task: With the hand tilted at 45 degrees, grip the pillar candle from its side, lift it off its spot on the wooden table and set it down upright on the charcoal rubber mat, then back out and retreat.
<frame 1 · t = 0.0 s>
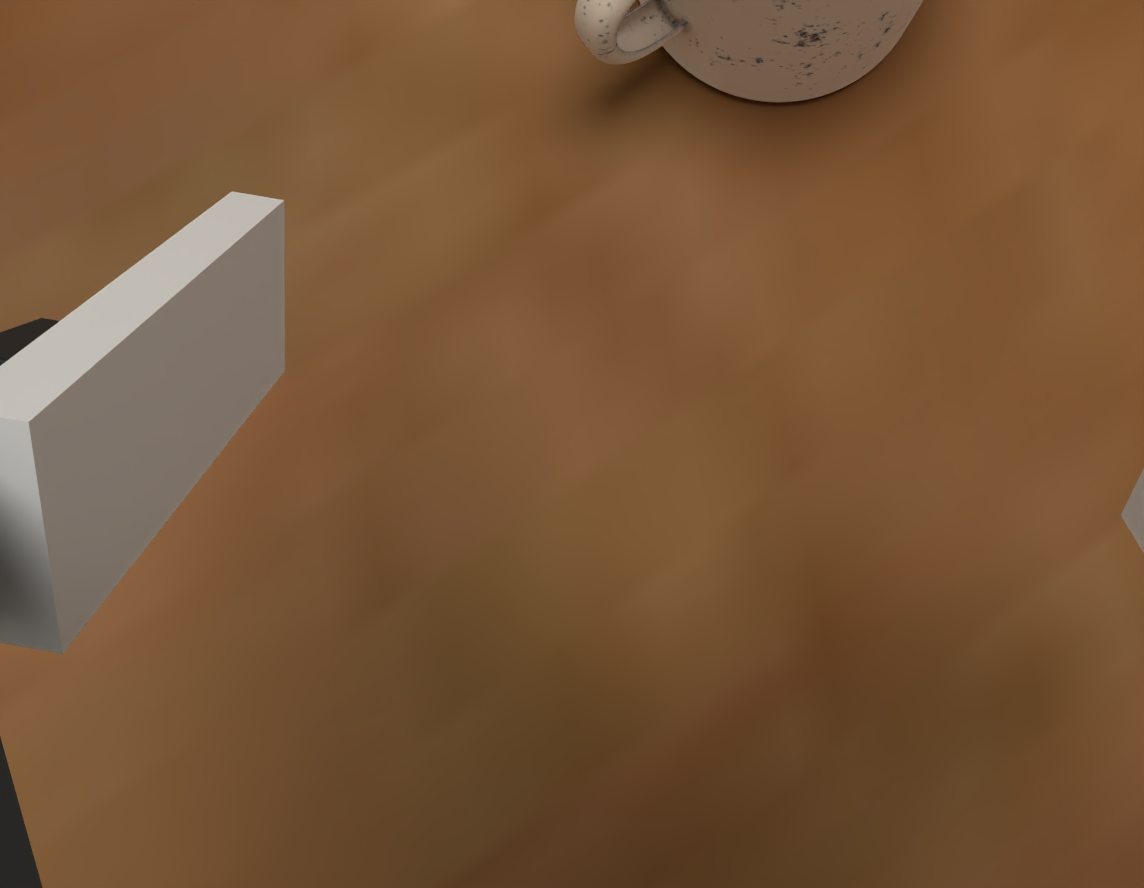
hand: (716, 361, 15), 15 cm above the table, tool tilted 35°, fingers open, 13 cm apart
teacup with lid: (736, 3, 32), on the table
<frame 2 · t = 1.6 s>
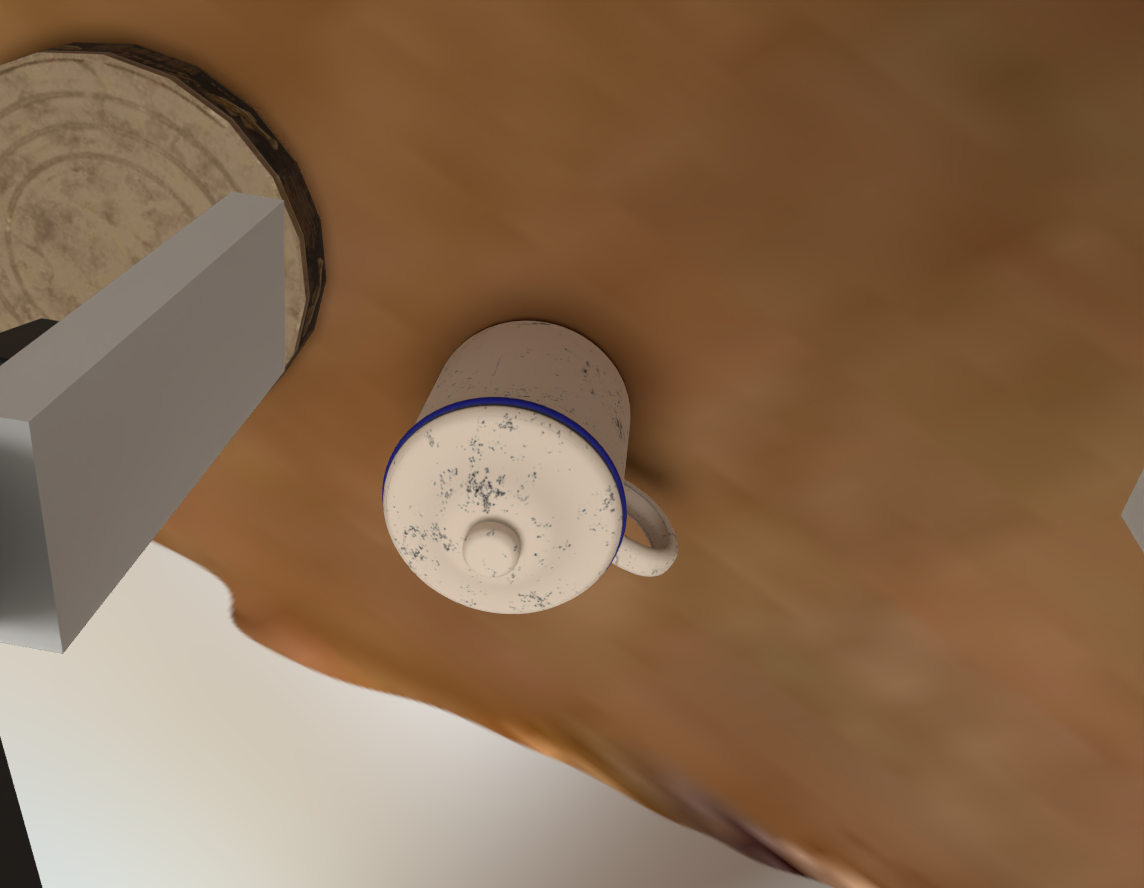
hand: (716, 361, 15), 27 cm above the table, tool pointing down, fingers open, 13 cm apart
teacup with lid: (561, 423, 47), on the table
wood log slice: (146, 237, 45), on the table
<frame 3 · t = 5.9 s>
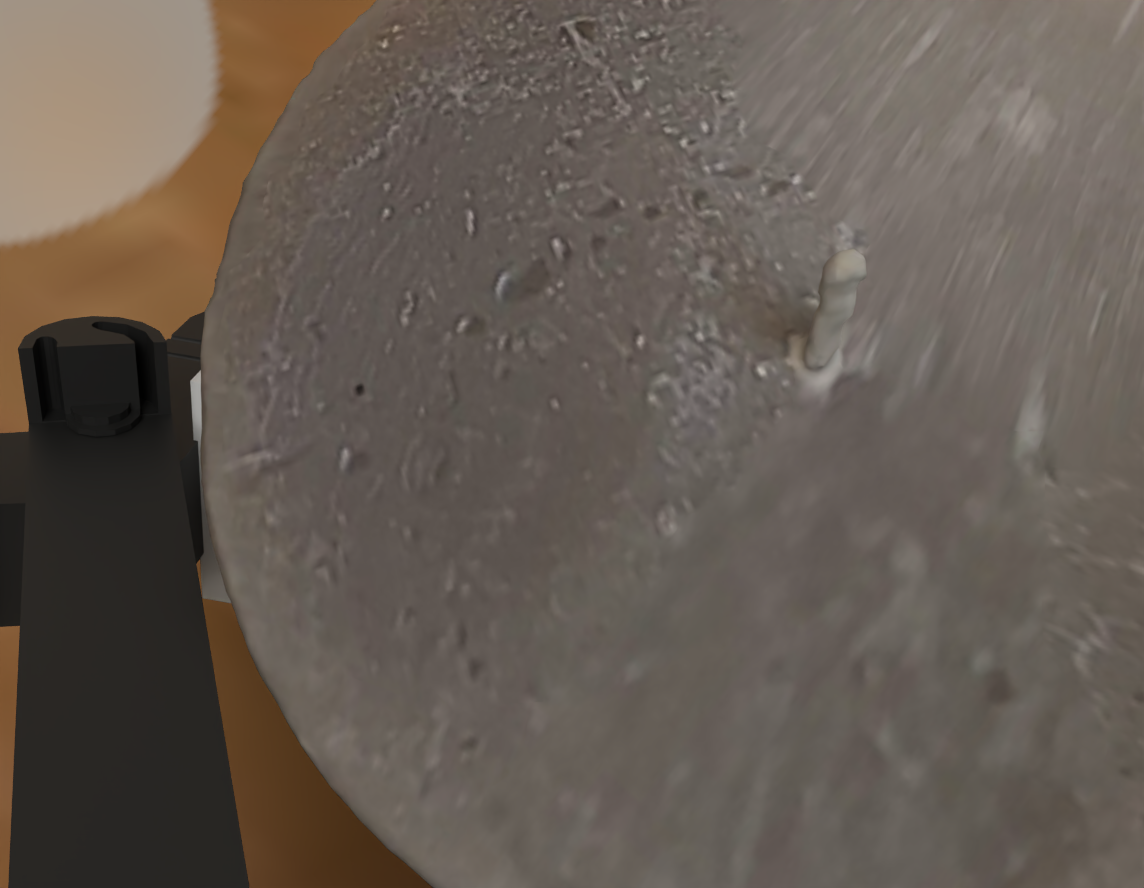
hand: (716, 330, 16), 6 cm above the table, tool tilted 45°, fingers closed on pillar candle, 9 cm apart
pillar candle: (650, 578, 21), on the table, touching gripper
when the fingers open (8 cm above the table, at t = 11.8 s): pillar candle drops 1 cm, resting on mat.
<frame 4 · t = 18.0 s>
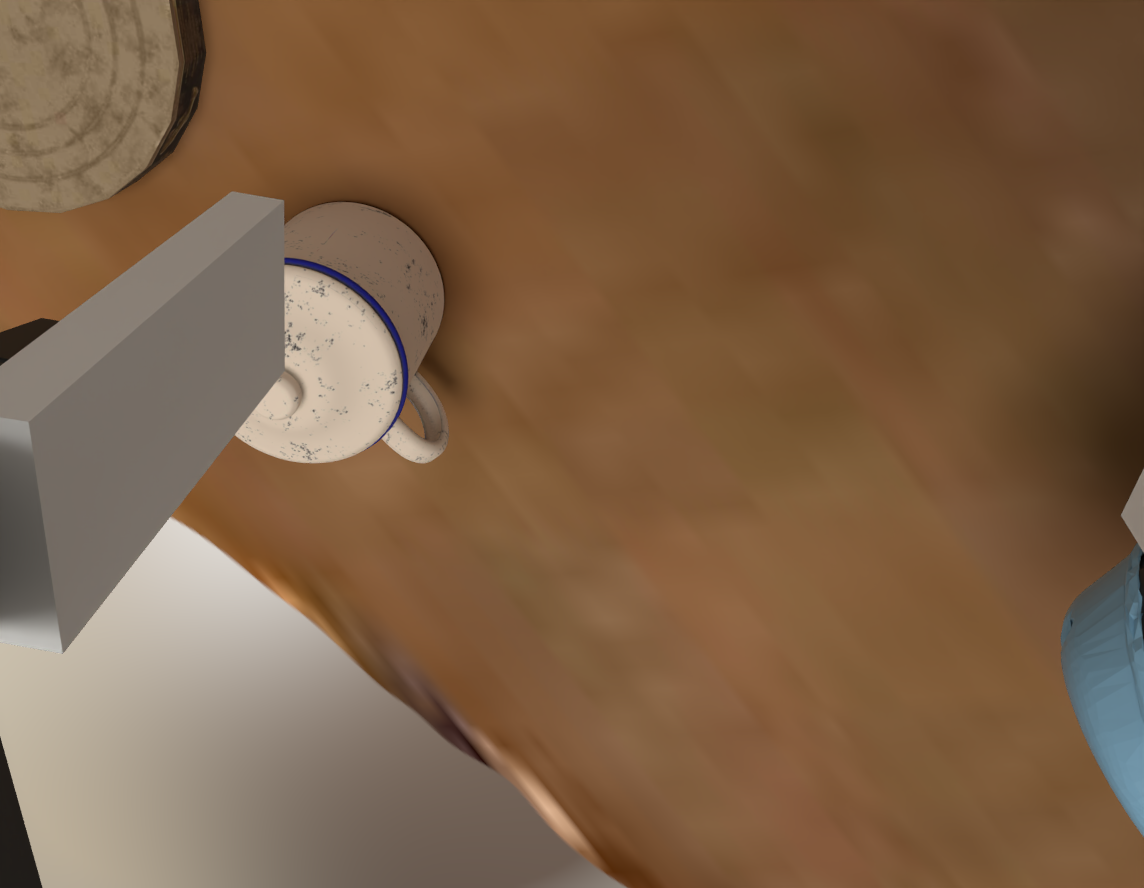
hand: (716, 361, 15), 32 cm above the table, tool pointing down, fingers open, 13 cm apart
teacup with lid: (379, 308, 51), on the table
wood log slice: (32, 12, 46), on the table
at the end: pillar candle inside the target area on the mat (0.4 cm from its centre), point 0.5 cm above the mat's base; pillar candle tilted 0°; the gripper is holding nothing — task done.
